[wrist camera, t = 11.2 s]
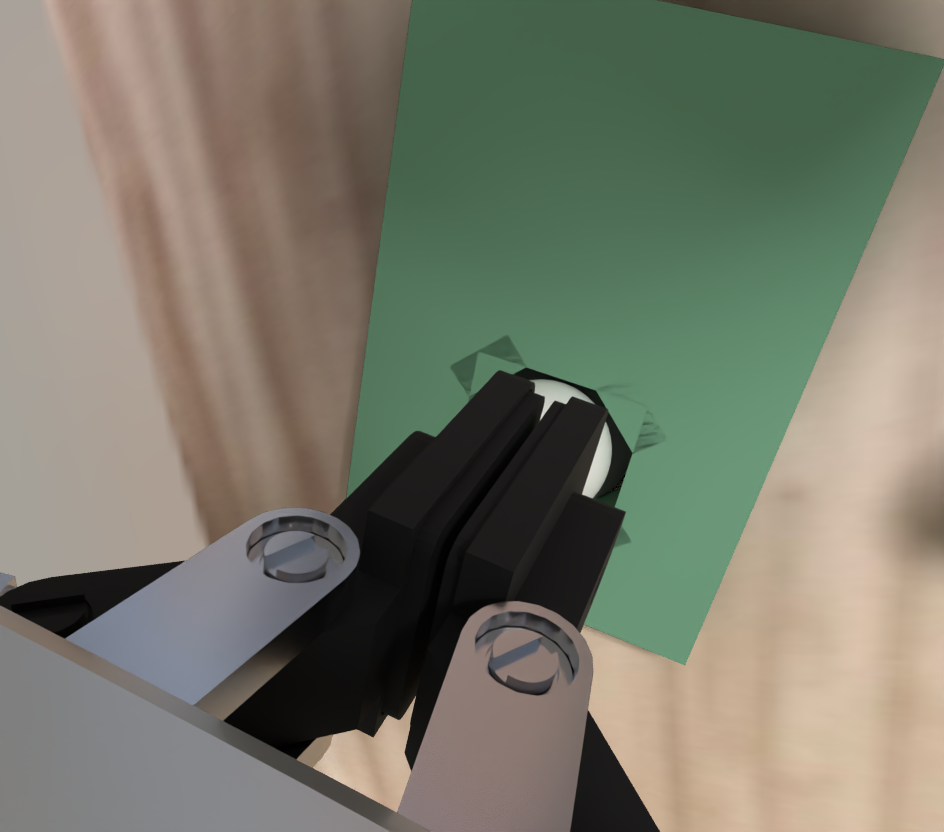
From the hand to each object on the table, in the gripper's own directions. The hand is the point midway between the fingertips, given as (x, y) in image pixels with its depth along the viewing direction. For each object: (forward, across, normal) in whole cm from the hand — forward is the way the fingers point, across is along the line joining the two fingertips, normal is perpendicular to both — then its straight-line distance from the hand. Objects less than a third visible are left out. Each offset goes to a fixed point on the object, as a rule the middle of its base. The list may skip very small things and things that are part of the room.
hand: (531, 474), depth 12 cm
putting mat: (+22, +4, +7) cm, 24 cm away
